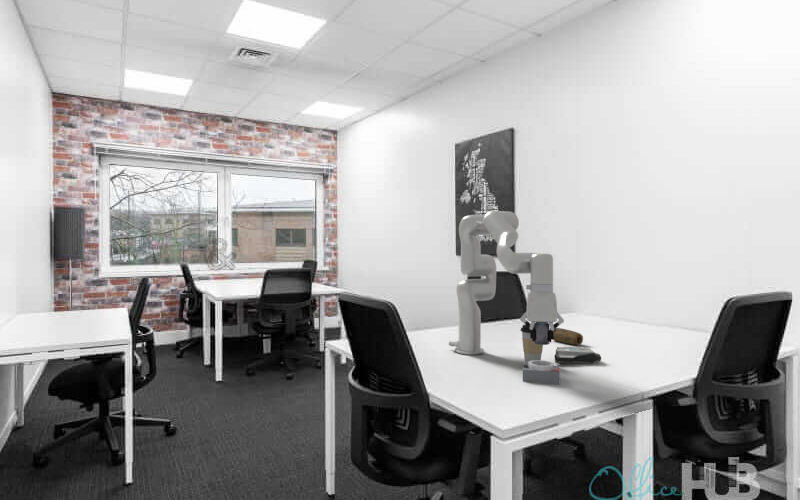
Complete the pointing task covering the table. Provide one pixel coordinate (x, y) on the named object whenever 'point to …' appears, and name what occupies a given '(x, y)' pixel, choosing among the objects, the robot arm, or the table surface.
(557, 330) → the brown wooden cylinder
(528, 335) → the coffee cup
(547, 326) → the lens
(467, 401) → the table surface
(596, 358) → the grey plastic handled piece
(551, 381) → the camera body
